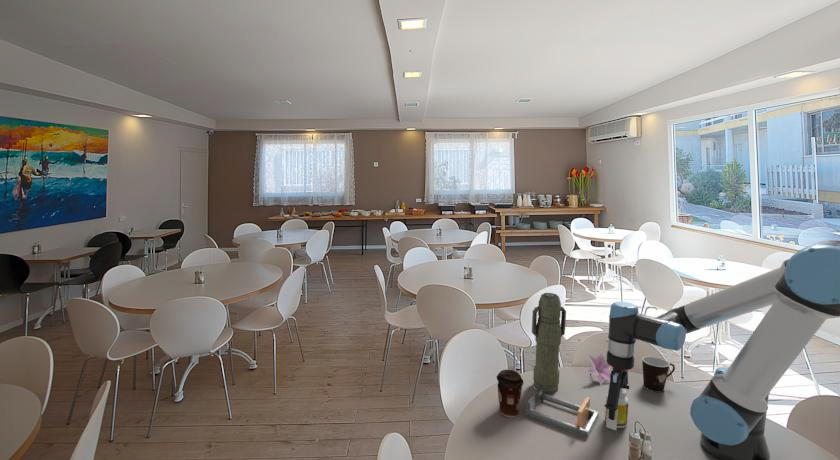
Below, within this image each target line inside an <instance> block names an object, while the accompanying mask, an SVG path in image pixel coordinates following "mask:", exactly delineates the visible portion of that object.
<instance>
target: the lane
mask: <svg viewBox="0 0 840 460" xmlns="http://www.w3.org/2000/svg"><path fill="white" fill-rule="evenodd" d="M544 400H546V401H549V402H551V403H554V404H557V405H560V406H563V407H566V408H569V409H572V410H575V411H578V410H579V408H580V407H581V405H579V404H577V403H573V402H570V401H568V400H565V399H561V398H558V397H555V396H553V395H549V394H548V393H543V392H542V389H541V388H539V389H538V390H536V391H535V393H534V396H531V397H530V398H529V399H528V401H527V403H526V409H525V416H527V417H530V418H532V419H535V420H537V421H541V422H543V423H545V424H549V425H551V426H554V427H556V428H559V429H561V430H564V431H566V432H570V433H571V434H572V433H573V434H575V435H577V436H580V437H583V438H586V439H588V438H589V437H590V434H591V433H592V431H593V429H594V427H595V425H596V423H597V421H598V419H599V410H598V411H597V410H595V409H592V408H589V417H590V419H589V421H588V423H587V425H586V427H585V428H584V427H582V428H581V427H578V426H577V425H575V424H572V423H571V422H570V423H569V422H567V421H565V420H561V419H558V418H556V417H553V416H550V415H548V414H545V413H542V412H539V411H537V410H535V409H536V408H535V407H536V406H538V405H539V404H540V403H541V402H542V401H544Z"/></svg>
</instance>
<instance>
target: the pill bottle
mask: <svg viewBox="0 0 840 460" xmlns="http://www.w3.org/2000/svg"><path fill="white" fill-rule="evenodd" d="M626 390H627V389H626ZM626 390H625V389H624V388H621V390H620V395H619V400H618V406H617V409H618V415H617V428H618V429H624V428H626V427H627V425H628V417H629V415H628V413H629V399H628V397H627V391H626ZM607 398H608V393H607V395H606V399H605V404H606V405H607ZM604 409H605V413H604V421H605V422H606V421H607V408H606V407H605V408H604Z"/></svg>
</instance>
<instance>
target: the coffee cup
mask: <svg viewBox="0 0 840 460" xmlns="http://www.w3.org/2000/svg"><path fill="white" fill-rule="evenodd" d="M496 379H497V382H498V383H497V396H498V402H499V406H498V407H499V412H500V414H501V415H502V416H503V417H506V418H510V419H511V418H513V419H514V418H516V417H517V416H519V415H520V405H521V398H522V396H521V395H522V389H523V385H524V379H523V377H522V375H521V374H519V373H518V372H517V371H516V370H513V369H503V370H501V371H499V372H498V373H497V375H496Z"/></svg>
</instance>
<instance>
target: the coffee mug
mask: <svg viewBox="0 0 840 460" xmlns="http://www.w3.org/2000/svg"><path fill="white" fill-rule="evenodd" d="M641 361H642V375H643V376H642V377H643V379H642V380H643V387H644V386H645V387H646V388H645V387H644V388H645V389H647V388H648V389H647V390H649V389H650V390H649V391H651V390H653V391H652V392H655V391H662V392H664V391H663V390H665V386H666V383H667V379H668V377H670V376H671V375H672V374H673V373H674V372H675V370H676V366H675V364H673V363H670V362H668V361H667V360H665V359H663V358H660V357H657V356H651V355H650V356H649V355H648V356H647V355H646V356H644V357H642V358H641ZM670 366H672V369H671V371H670V373H669V370H670Z"/></svg>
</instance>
